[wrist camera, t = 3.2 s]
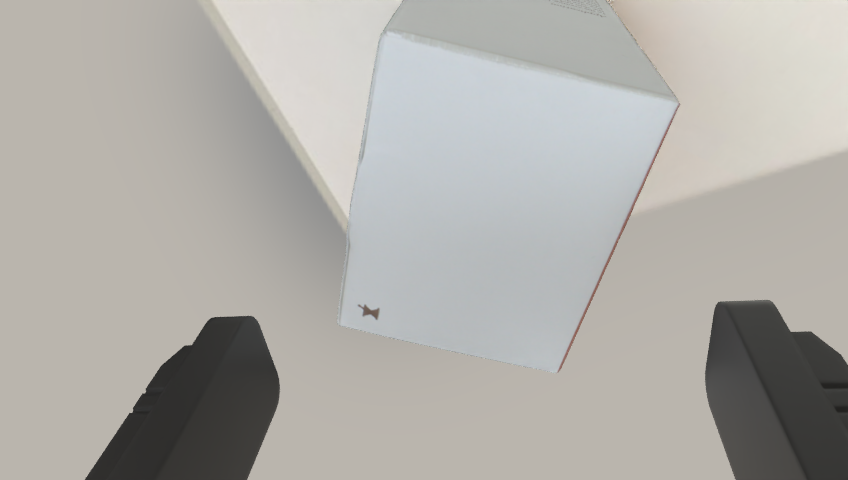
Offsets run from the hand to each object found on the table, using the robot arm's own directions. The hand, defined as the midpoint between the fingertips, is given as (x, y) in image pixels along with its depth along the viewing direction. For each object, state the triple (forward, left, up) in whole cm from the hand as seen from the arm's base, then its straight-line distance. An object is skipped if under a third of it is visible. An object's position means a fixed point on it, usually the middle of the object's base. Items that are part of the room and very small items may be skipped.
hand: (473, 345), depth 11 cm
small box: (0, 0, -17) cm, 17 cm away
